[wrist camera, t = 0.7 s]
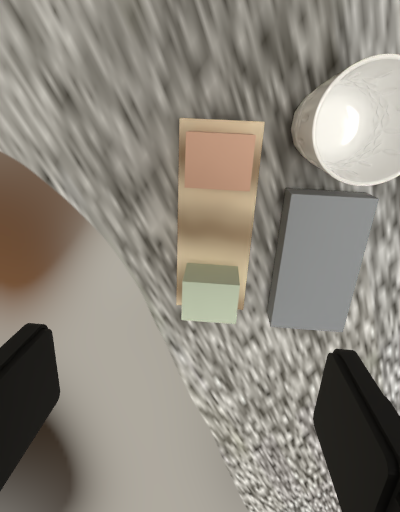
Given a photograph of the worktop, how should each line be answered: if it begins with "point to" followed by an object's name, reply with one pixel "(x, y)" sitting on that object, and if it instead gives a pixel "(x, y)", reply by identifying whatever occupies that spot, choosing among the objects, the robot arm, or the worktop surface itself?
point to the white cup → (354, 123)
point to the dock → (318, 257)
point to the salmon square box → (219, 160)
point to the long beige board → (216, 210)
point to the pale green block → (210, 293)
